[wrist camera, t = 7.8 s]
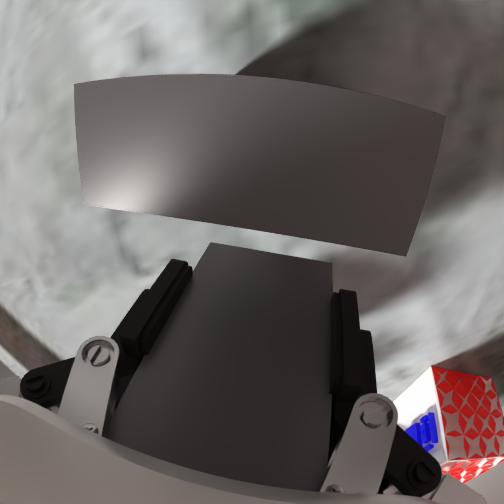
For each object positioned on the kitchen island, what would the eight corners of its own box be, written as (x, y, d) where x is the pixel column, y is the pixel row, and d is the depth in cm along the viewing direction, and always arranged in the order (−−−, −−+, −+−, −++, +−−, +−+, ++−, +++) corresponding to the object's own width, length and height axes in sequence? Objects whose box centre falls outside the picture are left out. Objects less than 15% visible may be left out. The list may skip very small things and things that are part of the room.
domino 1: (234, 74, 12) (74, 83, 3) (351, 89, 11) (445, 115, 3) (231, 117, 13) (84, 205, 5) (344, 133, 12) (405, 256, 4)
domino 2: (210, 242, 13) (81, 475, 4) (331, 263, 12) (318, 539, 4) (210, 280, 14) (109, 495, 6) (321, 300, 13) (296, 543, 5)
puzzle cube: (437, 423, 23) (444, 492, 16) (375, 415, 23) (376, 495, 16) (492, 377, 19) (513, 454, 12) (431, 364, 19) (449, 460, 12)
